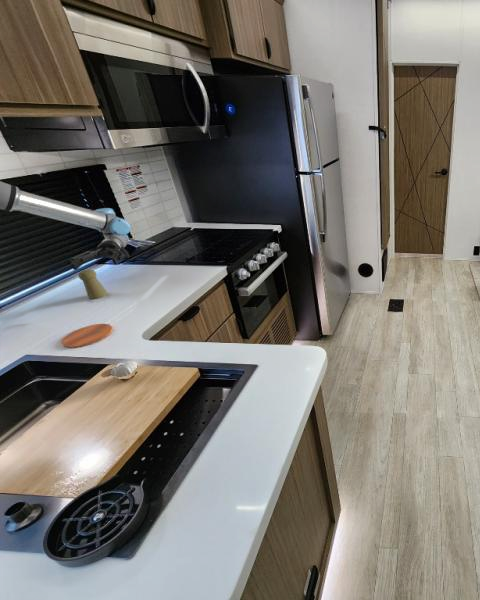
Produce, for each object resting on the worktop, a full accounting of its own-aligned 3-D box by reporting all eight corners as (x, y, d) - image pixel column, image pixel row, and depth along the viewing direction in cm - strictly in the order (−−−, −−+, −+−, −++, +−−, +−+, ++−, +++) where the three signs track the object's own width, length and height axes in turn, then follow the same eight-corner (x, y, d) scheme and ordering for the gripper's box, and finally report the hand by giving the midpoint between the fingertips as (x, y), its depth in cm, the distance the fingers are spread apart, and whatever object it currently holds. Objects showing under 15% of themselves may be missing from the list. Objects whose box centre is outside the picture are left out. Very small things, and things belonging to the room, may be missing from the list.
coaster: (50, 347, 104) (49, 346, 104) (85, 325, 115) (84, 323, 115) (90, 347, 104) (90, 346, 103) (122, 325, 115) (121, 323, 115)
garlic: (119, 387, 88) (111, 372, 86) (112, 378, 91) (104, 364, 89) (145, 374, 92) (137, 360, 90) (137, 367, 95) (130, 353, 93)
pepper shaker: (102, 298, 132) (89, 273, 127) (85, 300, 131) (71, 274, 126) (110, 291, 137) (98, 267, 132) (93, 293, 136) (81, 268, 131)
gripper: (145, 251, 159) (133, 267, 142) (81, 259, 151) (60, 277, 134) (139, 236, 156) (126, 251, 139) (72, 243, 147) (50, 260, 130)
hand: (94, 264), depth 136 cm, fingers open, 13 cm apart
